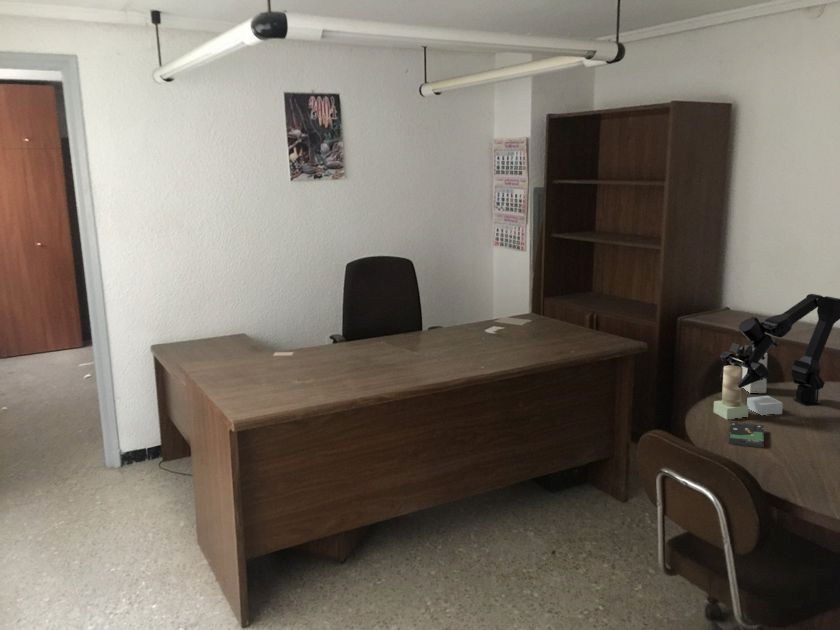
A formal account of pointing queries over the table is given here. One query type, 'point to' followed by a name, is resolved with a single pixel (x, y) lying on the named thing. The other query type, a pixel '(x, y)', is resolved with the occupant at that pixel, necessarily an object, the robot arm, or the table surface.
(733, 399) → the birch cylinder
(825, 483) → the table surface
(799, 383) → the robot arm
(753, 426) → the disk drive
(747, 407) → the sage block
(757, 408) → the blue-grey block
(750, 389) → the skincare box
